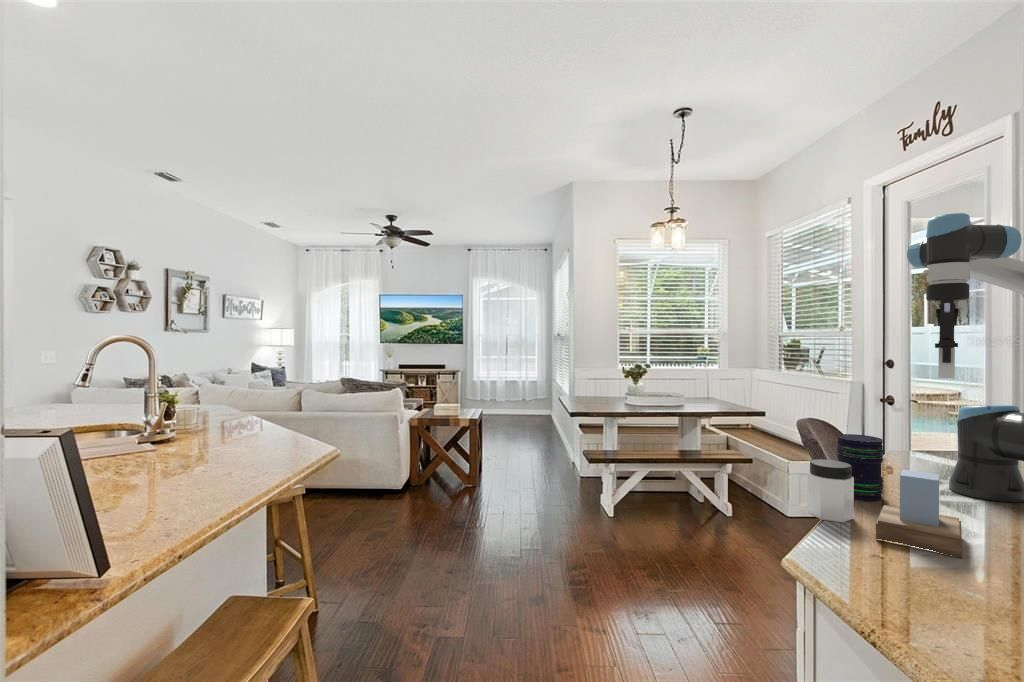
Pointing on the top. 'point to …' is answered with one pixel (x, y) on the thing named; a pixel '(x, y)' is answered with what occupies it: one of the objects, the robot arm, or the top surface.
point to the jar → (831, 490)
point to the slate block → (919, 497)
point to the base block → (920, 532)
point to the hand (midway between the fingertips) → (946, 376)
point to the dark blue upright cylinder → (863, 464)
